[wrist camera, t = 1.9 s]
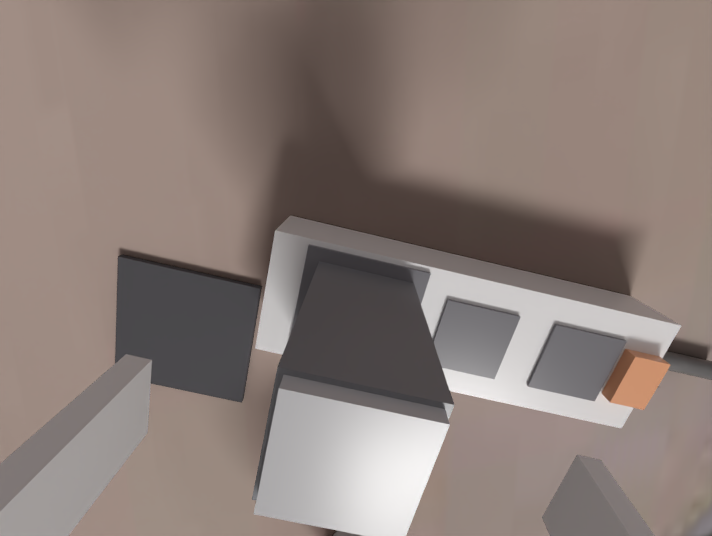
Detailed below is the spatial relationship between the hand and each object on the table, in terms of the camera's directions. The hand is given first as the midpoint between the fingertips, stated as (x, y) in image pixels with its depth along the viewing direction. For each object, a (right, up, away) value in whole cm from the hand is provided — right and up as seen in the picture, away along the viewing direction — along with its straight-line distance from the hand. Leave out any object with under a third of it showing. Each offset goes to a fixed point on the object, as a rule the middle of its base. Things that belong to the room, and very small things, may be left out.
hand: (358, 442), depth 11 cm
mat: (-12, +1, +14) cm, 18 cm away
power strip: (+9, +2, +13) cm, 16 cm away
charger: (0, +3, +8) cm, 9 cm away
